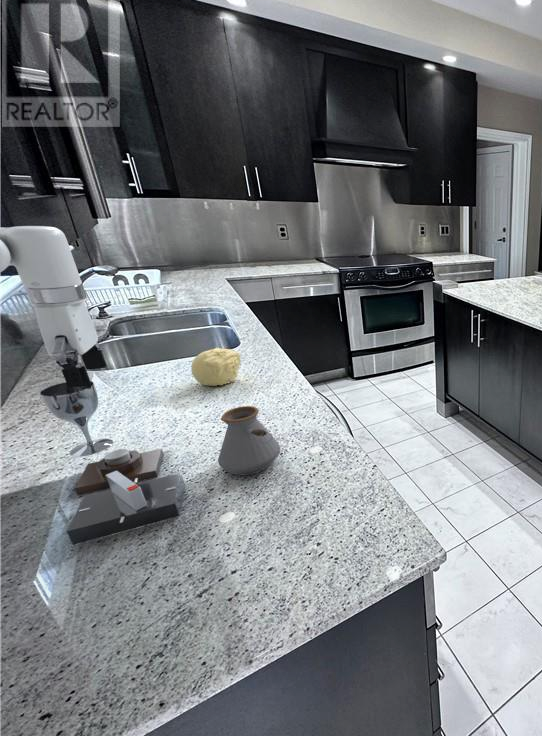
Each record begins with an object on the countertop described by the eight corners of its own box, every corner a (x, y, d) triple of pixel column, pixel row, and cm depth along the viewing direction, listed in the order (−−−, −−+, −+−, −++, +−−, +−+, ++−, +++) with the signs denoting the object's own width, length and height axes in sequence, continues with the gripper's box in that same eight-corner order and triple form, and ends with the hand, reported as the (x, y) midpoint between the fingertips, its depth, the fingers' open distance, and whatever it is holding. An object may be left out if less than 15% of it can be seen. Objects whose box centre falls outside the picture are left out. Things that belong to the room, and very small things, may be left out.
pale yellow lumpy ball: (226, 390, 120) (218, 357, 116) (186, 388, 120) (177, 354, 116) (250, 375, 131) (243, 344, 127) (213, 373, 131) (205, 342, 127)
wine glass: (57, 453, 89) (30, 392, 83) (100, 435, 96) (78, 378, 90) (82, 460, 87) (55, 399, 81) (124, 442, 94) (102, 383, 88)
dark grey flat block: (69, 552, 66) (62, 537, 64) (92, 502, 76) (87, 489, 75) (178, 521, 73) (173, 508, 72) (186, 480, 83) (182, 467, 82)
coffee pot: (214, 463, 88) (197, 402, 83) (271, 443, 96) (259, 387, 91) (246, 513, 75) (228, 445, 70) (309, 485, 83) (298, 422, 78)
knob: (112, 492, 74) (104, 473, 73) (123, 487, 76) (116, 469, 74) (136, 510, 71) (128, 491, 69) (147, 505, 72) (140, 486, 70)
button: (105, 468, 80) (102, 461, 80) (109, 459, 83) (106, 451, 83) (129, 463, 82) (126, 456, 82) (132, 454, 85) (130, 447, 84)
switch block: (77, 495, 77) (70, 480, 76) (90, 470, 84) (84, 456, 83) (157, 477, 83) (152, 463, 82) (164, 454, 90) (159, 441, 89)
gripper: (49, 287, 82) (79, 364, 89) (5, 306, 68) (45, 397, 75) (99, 285, 86) (124, 360, 92) (67, 303, 72) (99, 390, 78)
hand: (89, 376), depth 83 cm, fingers open, 9 cm apart
